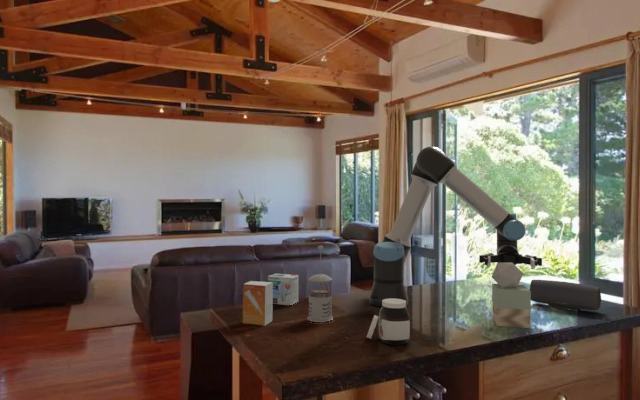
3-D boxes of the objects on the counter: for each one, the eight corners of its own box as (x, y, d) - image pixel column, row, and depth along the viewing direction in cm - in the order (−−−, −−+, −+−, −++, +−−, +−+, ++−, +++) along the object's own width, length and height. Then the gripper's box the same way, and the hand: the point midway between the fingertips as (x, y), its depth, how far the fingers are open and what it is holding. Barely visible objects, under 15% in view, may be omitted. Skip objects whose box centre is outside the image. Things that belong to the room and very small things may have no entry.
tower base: (496, 326, 149) (496, 307, 149) (492, 318, 159) (492, 300, 159) (529, 328, 147) (530, 309, 147) (523, 320, 156) (523, 302, 156)
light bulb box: (266, 303, 178) (267, 275, 178) (274, 299, 184) (275, 273, 184) (291, 306, 174) (291, 277, 174) (299, 302, 180) (299, 274, 180)
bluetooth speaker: (601, 311, 169) (601, 284, 169) (596, 316, 162) (596, 287, 162) (536, 301, 184) (536, 276, 184) (528, 305, 177) (528, 279, 177)
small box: (242, 323, 149) (242, 283, 149) (250, 318, 155) (251, 280, 155) (265, 326, 146) (265, 285, 146) (273, 321, 153) (273, 281, 152)
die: (521, 292, 146) (531, 266, 150) (496, 278, 147) (506, 252, 151) (507, 297, 154) (517, 271, 158) (484, 283, 155) (494, 258, 159)
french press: (301, 321, 152) (301, 246, 152) (313, 313, 163) (314, 243, 163) (329, 324, 149) (329, 247, 149) (340, 315, 160) (340, 244, 159)
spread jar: (413, 346, 128) (413, 304, 128) (374, 348, 125) (375, 306, 125) (397, 333, 140) (397, 295, 140) (361, 335, 137) (362, 296, 137)
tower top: (497, 307, 149) (497, 289, 149) (492, 301, 158) (492, 283, 158) (530, 309, 147) (530, 290, 147) (522, 302, 157) (522, 284, 157)
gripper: (544, 267, 169) (552, 277, 149) (473, 263, 177) (471, 272, 157) (545, 247, 169) (552, 253, 149) (473, 244, 177) (471, 250, 157)
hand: (511, 263), depth 153 cm, fingers open, 13 cm apart
